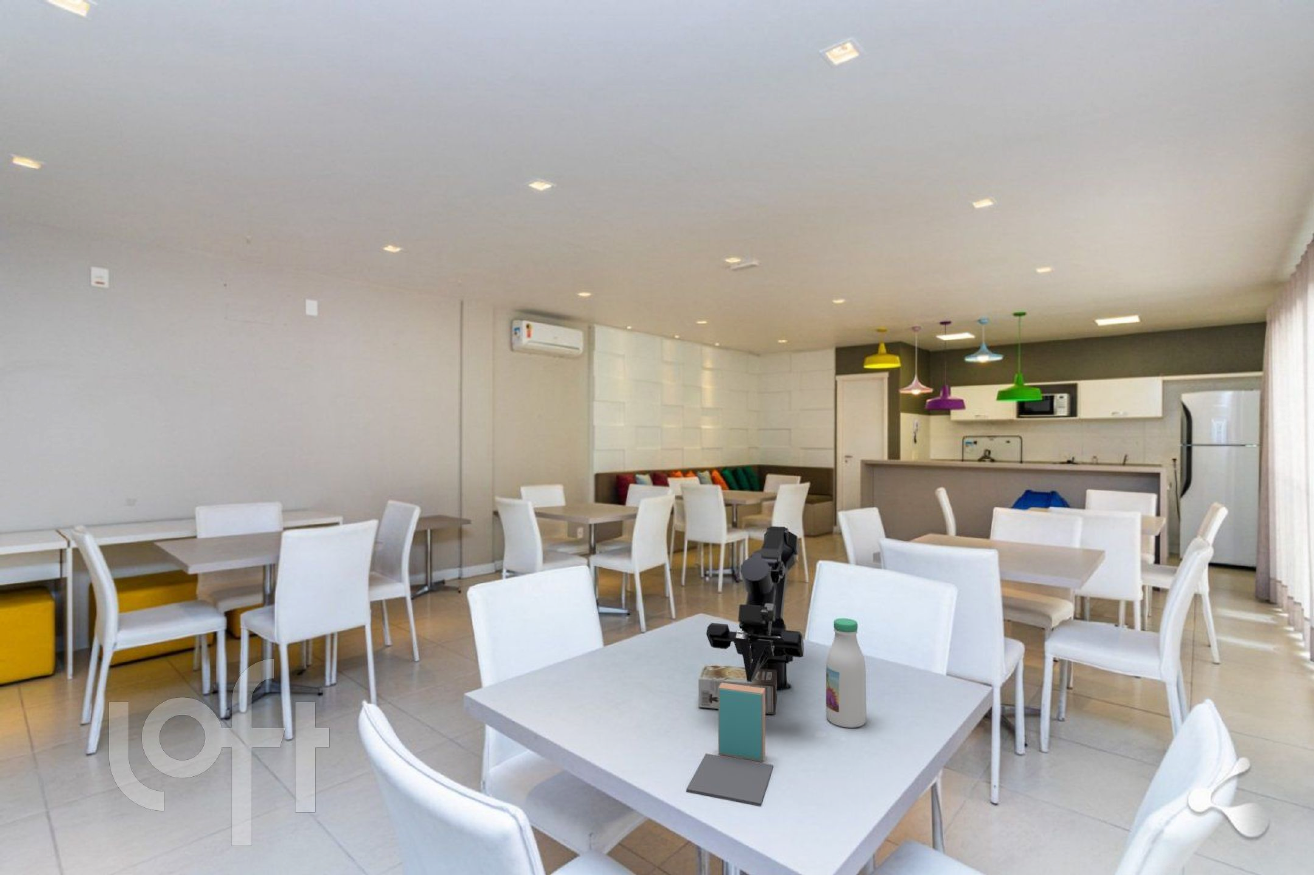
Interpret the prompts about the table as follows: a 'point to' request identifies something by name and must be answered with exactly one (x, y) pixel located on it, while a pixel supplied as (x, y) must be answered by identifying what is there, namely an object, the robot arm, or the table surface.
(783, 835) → the table surface
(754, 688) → the block
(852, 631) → the milk bottle
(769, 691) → the coffee box
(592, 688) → the table surface
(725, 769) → the mat
